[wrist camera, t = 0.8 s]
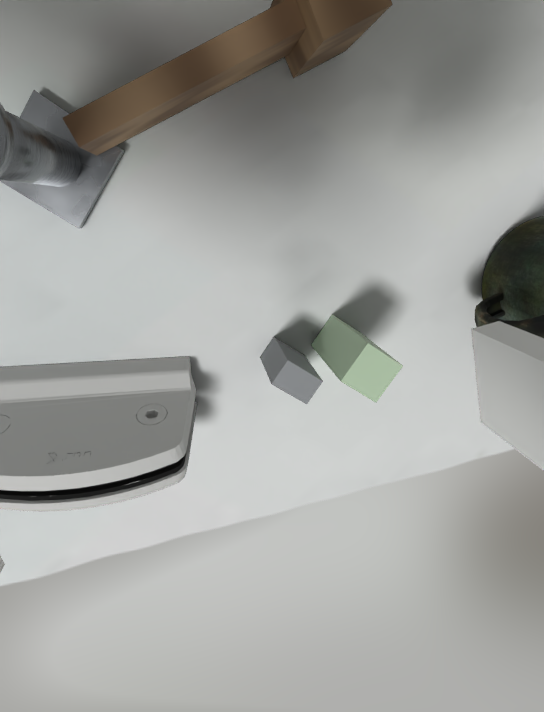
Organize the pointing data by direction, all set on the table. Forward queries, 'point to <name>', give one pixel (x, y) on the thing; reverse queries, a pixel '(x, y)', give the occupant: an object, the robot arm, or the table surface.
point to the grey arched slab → (93, 431)
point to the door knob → (52, 161)
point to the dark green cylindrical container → (516, 281)
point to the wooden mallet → (225, 66)
